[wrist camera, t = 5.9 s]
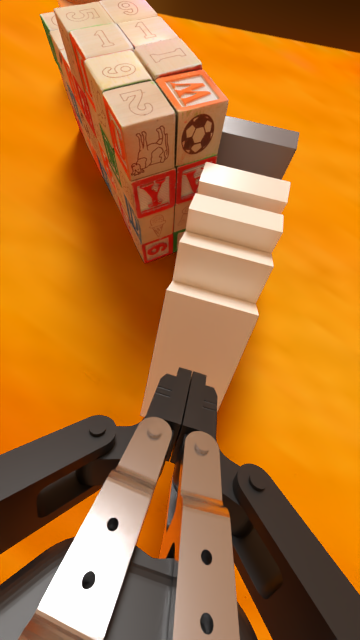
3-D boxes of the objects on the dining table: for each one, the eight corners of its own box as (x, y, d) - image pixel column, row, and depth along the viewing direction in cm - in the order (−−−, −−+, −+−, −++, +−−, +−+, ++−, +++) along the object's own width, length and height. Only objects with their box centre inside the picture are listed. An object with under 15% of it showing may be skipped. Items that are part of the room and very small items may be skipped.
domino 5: (140, 415, 17) (166, 289, 12) (146, 399, 19) (172, 280, 14) (206, 436, 17) (259, 315, 12) (208, 418, 18) (255, 303, 14)
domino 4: (158, 360, 19) (179, 241, 12) (163, 346, 20) (185, 231, 14) (219, 378, 19) (273, 266, 12) (221, 362, 20) (271, 253, 13)
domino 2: (187, 274, 23) (199, 180, 13) (191, 260, 23) (206, 161, 14) (238, 288, 22) (287, 202, 13) (241, 274, 23) (290, 182, 13)
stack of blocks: (77, 129, 29) (17, -52, 18) (125, 117, 30) (98, -61, 19) (145, 265, 23) (119, 123, 11) (202, 244, 24) (231, 94, 13)
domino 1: (198, 237, 24) (217, 130, 15) (202, 225, 25) (222, 115, 15) (246, 250, 24) (296, 149, 14) (249, 237, 24) (299, 132, 15)
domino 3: (173, 314, 21) (188, 208, 12) (178, 300, 22) (195, 192, 13) (229, 330, 20) (282, 232, 12) (231, 315, 21) (283, 214, 13)
